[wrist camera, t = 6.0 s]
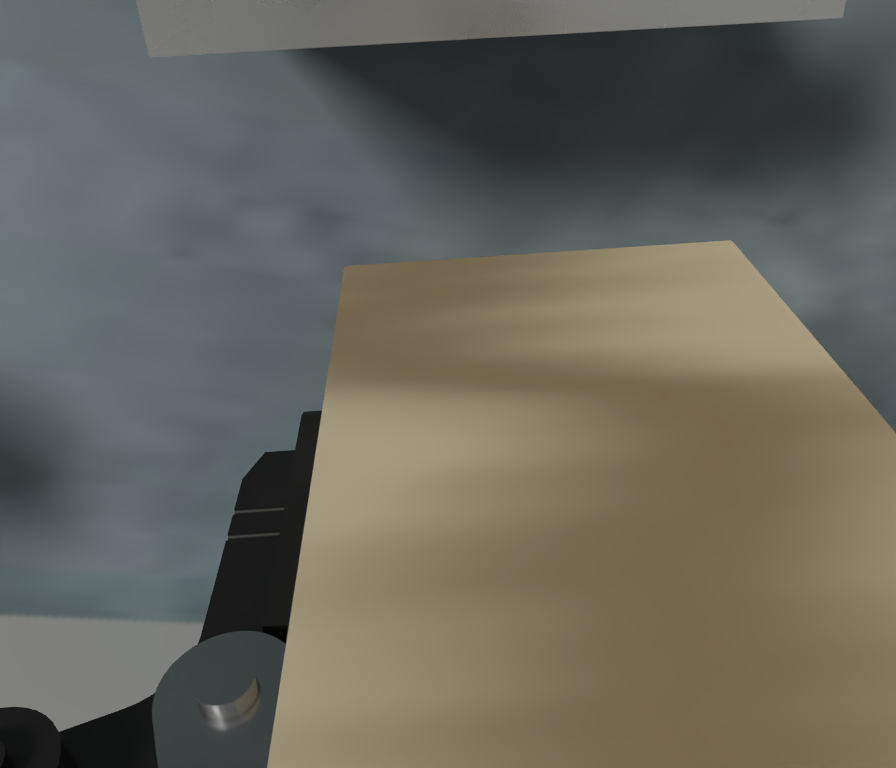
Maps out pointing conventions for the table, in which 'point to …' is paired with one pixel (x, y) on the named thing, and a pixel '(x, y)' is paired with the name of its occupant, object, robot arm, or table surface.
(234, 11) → the plate
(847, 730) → the maple block
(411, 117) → the table surface
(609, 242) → the table surface
